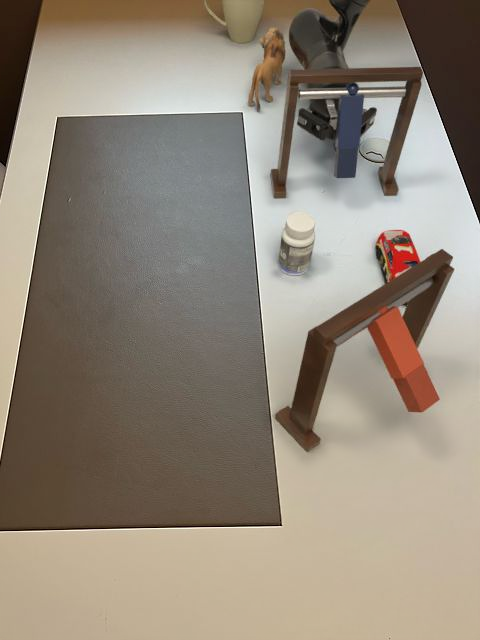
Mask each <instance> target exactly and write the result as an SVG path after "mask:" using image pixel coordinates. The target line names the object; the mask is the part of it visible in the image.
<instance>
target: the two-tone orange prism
mask: <svg viewBox="0 0 480 640" xmlns="http://www.w3.org/2000/svg"><path fill="white" fill-rule="evenodd" d="M433 283H434V281H433V279H432V277H430V278H429V279H427V280H425V281H424V282H422V283H421V284H419V285H418V286H416V287H415V288H413V289H411V290H410V291H408V292H407V293H405V294H404V295H402V296H400V297H399V298H397V299H396V300H394V301H393V302H391V303H389V304H388V305H386V306H385V307H383V308H382V309H380V310H378V311H377V312H375V313H374V314H372V315H371V316H369V317H368V318H366V319H364V320H363V321H361V322H360V323H358V324H357V325H355V326H353V327H352V328H350V329H349V330H347V331H346V332H344V333H342V334H341V335H339V336H338V337H336V338H335V339H333V341H334V342H335V343H336V344H337V347H336V348H338V347H339V346H341V345H342V344H344V343H346V342H347V341H348V340H351V339H352V338H353V337H355V336H356V335H358V334H359V333H361V332H363V331H364V330H366V329H367V330H368V333H369V335H370V337H371V339H372V341H373V343H374V345H375V347H376V349H377V351H378V354H379V355H380V357H381V360H382V362H383V364H384V366H385V368H386V370H387V372H388V374H389V376H390V378H391V379H392V380H393V383H394V385H395V387H396V389H397V391H398V393H399V395H400V397H401V400H402V401H403V404H404V406H405V407H406V410H407V412H408V413H424V412H425V411H427V410H428V409H429V408H431V407H432V406H433V405H435V404H436V403H438V401H440V395H439V394H438V392H437V389H436V388H435V386H434V384H433V382H432V379H431V377H430V375H429V373H428V370H427V369H426V367H425V362H424V360H423V358H422V356H421V353H420V352H419V350H418V349H419V348H418V349H417V347H416V345H415V343H414V341H413V339H412V337H411V334H410V332H409V330H408V328H407V326H406V324H405V322H404V320H403V314H401V313H402V312H401V311H400V309H399V308H400V307H401V306H403V305H405V304H404V303H406V302H407V301H409V300H411V299H412V298H414V297H415V296H417V295H418V294H420V293H421V292H423V291H425V290H426V289H428V288H429V287H431V286H432V285H433Z"/></svg>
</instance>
